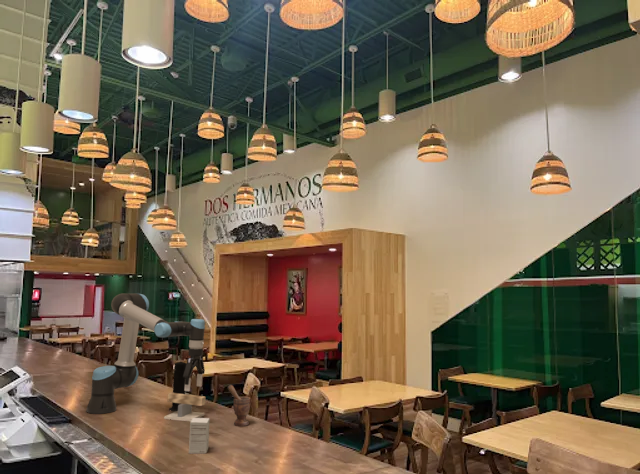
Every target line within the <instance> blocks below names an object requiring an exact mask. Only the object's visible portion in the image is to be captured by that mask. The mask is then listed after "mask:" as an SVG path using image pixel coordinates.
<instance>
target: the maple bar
mask: <svg viewBox="0 0 640 474" xmlns="http://www.w3.org/2000/svg"><path fill="white" fill-rule="evenodd" d="M172 402H173V403H182V404H190V405H192V406H197V407H198V406H200V407H202V406H204V405H206V396H203V395H196V394H195V395H194V394H186V393H185V394H179V393H173V392H170V393H168V394H167V403H172Z"/></svg>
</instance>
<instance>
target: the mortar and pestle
mask: <svg viewBox="0 0 640 474" xmlns="http://www.w3.org/2000/svg"><path fill="white" fill-rule="evenodd" d="M227 390H228V391H229V393H230V394H231V395H232V396H233V397H234V398H233V405H232V406H233V411H234V415H236V419H235V421H234V422H233V425H234V426H237V427H247V426H248V425H249V423H250V422H249V420H248V419H247V416H248V415H249V412H250V409H251V400H252V399H251V397H250V396H239V394H238V393H237V390H236V389H235V387H234V385H232V384H229V385H228V386H227Z"/></svg>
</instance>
